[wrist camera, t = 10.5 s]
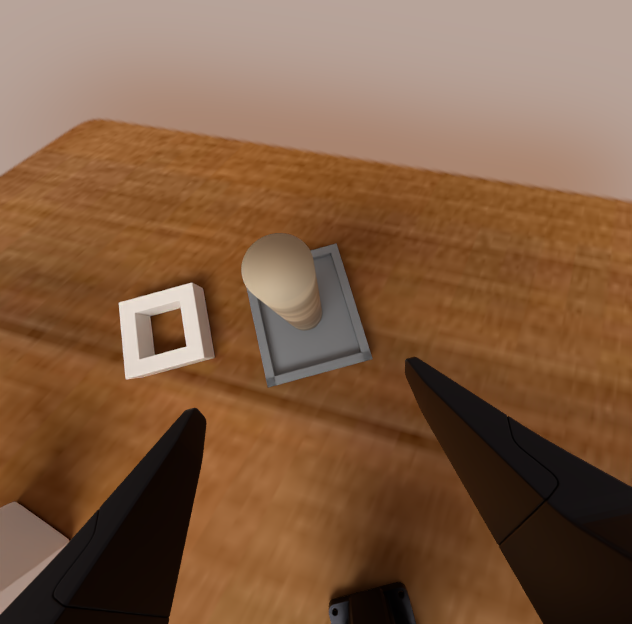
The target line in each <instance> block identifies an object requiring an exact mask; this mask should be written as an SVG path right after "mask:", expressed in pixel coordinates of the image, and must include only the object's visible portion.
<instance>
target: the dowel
mask: <svg viewBox="0 0 632 624" xmlns="http://www.w3.org/2000/svg"><path fill="white" fill-rule="evenodd" d="M241 270H242V278H243V281H244V283H245V285H246V287H247V288H248V290H249V291H250V292H251V293H252V294H253V295H254V296H256V297H257V298H258V299H260V300H261V301H262V302H263V303H265V304H266V305H267V306H268V307H270V308H271V309H272V310H273V311H275V312H276V313H277V314H278V315H280V316H281V317H282V318H283V319H285V320H286V321H287V322H288V323H290V324H291V325H292V326H294V327H295V328H296V329H299V330H303V331H305V330H311V329H313V328H314V327H316V326H317V325H318V324H319V322H320V321H321V318H322V307H321V301H320V296H319V290H318V284H317V278H316V272H315V266H314V260H313V256H312V253H311V251H310V249H309V248H308V246H307V245H306V244H305V243H304V242H303V241H302V240H300V239H299V238H297V237H295V236H293V235H290V234H285V233H275V234H270V235H267V236H264V237H262V238H260V239H259V240H257V241H256V242H255V243H253V244H252V245H251V246H250V248H249V249H248V250H247V252H246V254H245V256H244V258H243V262H242V269H241Z"/></svg>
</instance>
